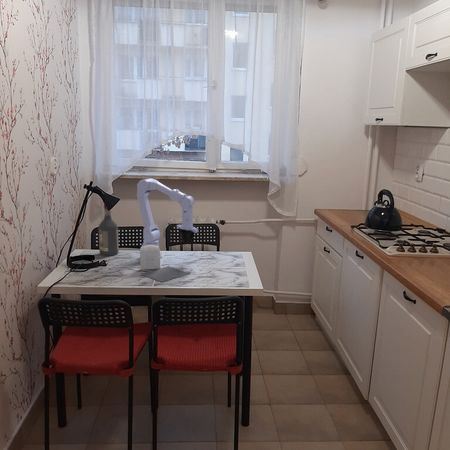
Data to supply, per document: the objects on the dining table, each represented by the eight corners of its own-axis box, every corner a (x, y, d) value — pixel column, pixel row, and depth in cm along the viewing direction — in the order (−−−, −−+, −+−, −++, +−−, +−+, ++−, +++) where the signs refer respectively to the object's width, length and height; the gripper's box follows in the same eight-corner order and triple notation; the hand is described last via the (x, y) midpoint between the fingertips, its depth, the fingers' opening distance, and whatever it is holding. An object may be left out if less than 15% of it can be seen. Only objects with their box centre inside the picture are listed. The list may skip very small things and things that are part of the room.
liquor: (112, 250, 259) (111, 200, 253) (120, 254, 253) (118, 202, 246) (98, 253, 254) (96, 201, 247) (105, 256, 247) (103, 204, 241)
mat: (140, 274, 218) (140, 273, 218) (168, 266, 231) (168, 266, 231) (161, 282, 208) (161, 281, 208) (189, 273, 221) (189, 272, 221)
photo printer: (160, 266, 230) (159, 243, 227) (160, 269, 226) (159, 245, 223) (140, 268, 228) (139, 244, 226) (140, 270, 224) (139, 246, 222)
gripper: (172, 217, 237) (172, 242, 240) (191, 221, 228) (191, 247, 231) (182, 216, 242) (182, 240, 245) (201, 220, 233) (200, 244, 236)
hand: (187, 243), depth 238 cm, fingers open, 3 cm apart
